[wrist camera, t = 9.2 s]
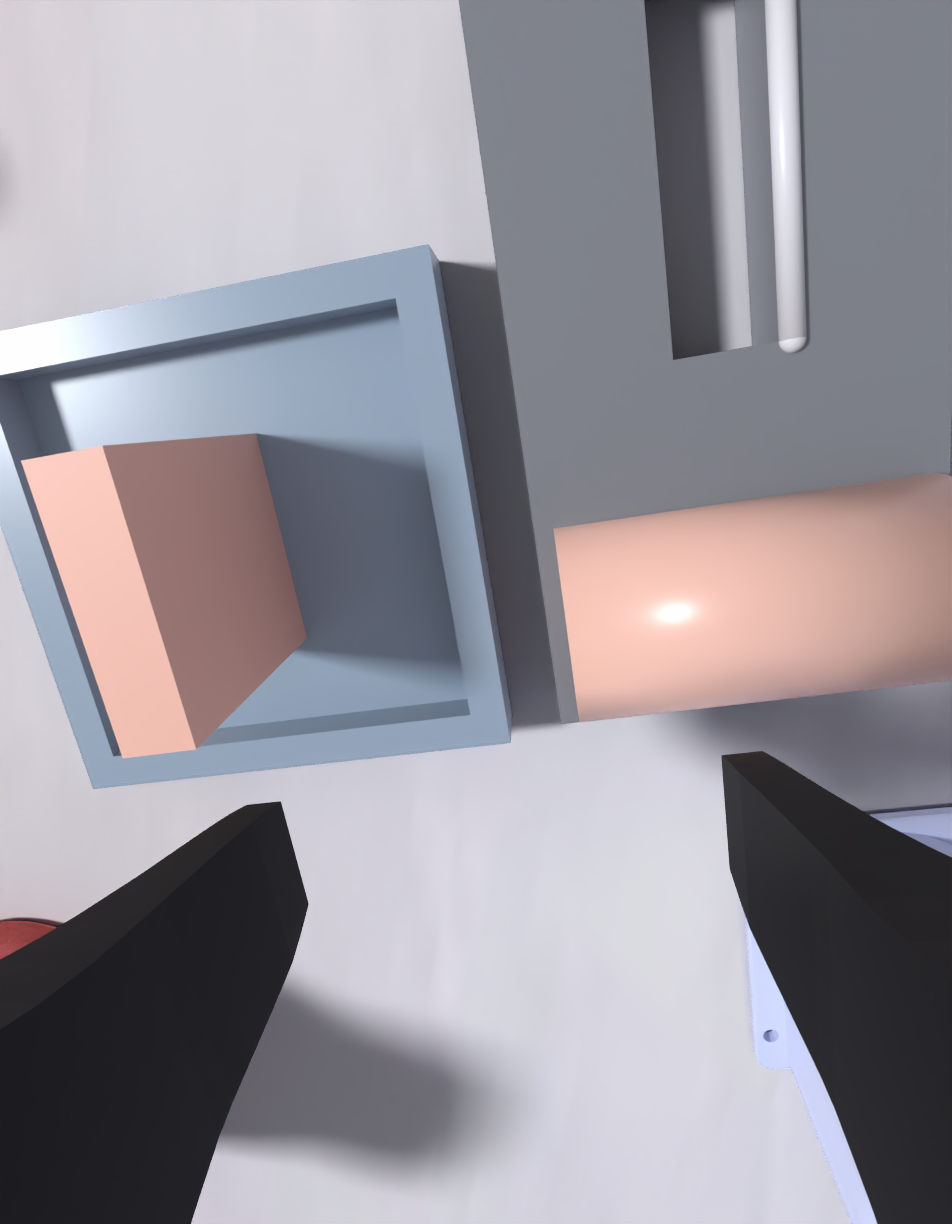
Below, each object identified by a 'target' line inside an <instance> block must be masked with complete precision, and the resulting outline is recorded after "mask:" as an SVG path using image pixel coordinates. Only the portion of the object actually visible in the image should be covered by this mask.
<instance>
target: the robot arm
mask: <svg viewBox="0 0 952 1224" xmlns="http://www.w3.org/2000/svg"><path fill="white" fill-rule="evenodd" d="M722 769H723V783H724V796H725V810H726V824H727V837H728V851H729V865H730V871H731V874H732V877H733V880H734V883H735V886H736V889H737V892H738V895H739V898H740V901H741V904H742V907H743V910H744V913H745V923H746V938H747V953H748V968H749V982H750V997H751V1012H752V1027H753V1041H754V1052H755V1055H756V1058H757V1060H758V1063H759V1064H760V1065H761V1066H763V1067H765V1068H768V1069H784V1068H790V1069H791V1071H792V1074H793V1076H794V1079H795V1081H796V1084H797V1087H798V1089H799V1092H800V1094H801V1097H802V1099H803V1102H804V1104H805V1107H806V1110H807V1112H808V1115H809V1117H810V1120H811V1122H812V1125H813V1127H814V1130H815V1133H816V1135H817V1138H818V1140H819V1143H820V1145H821V1148H822V1150H823V1153H824V1156H825V1158H826V1161H827V1163H828V1166H829V1168H830V1171H831V1173H832V1176H833V1179H834V1181H835V1184H836V1186H837V1189H838V1191H839V1194H840V1196H841V1199H842V1202H843V1204H844V1207H845V1209H846V1212H847V1214H848V1217H849V1219H850V1222H851V1224H952V807H945V808H934V809H923V810H912V811H901V812H890V813H880V814H869V815H868V814H866V813H865V812H863V811H861V810H859V809H858V808H856V807H854V806H853V805H851V804H849V803H847V802H846V801H844V800H842V799H841V798H839V797H837V796H836V795H834V794H832V793H831V792H829V791H827V790H826V789H824V788H822V787H821V786H819V785H817V784H816V783H814V782H813V781H811V780H809V779H808V778H806V777H805V776H803V775H801V774H800V773H798V772H797V771H795V770H793V769H792V768H790V767H788V766H787V765H785V764H784V763H782V762H780V761H779V760H777V759H775V758H774V757H772V756H770V755H768V754H767V753H765V752H763V751H760V752H750V753H741V754H731V755H722ZM307 908H308V900H307V897H306V893H305V889H304V886H303V882H302V878H301V875H300V871H299V867H298V863H297V860H296V856H295V852H294V849H293V845H292V841H291V838H290V834H289V830H288V827H287V823H286V819H285V816H284V812H283V808H282V804H281V802H271V803H262V804H252V805H246V806H244V807H242V808H240V809H238V810H236V811H235V812H233V813H231V814H229V815H228V816H226V817H225V818H223V819H221V820H220V821H218V822H217V823H215V824H214V825H212V826H211V827H209V828H208V829H206V830H205V831H203V832H202V833H200V834H199V835H197V836H196V837H194V838H193V839H192V840H190V841H189V842H187V843H186V844H184V845H183V846H181V847H180V848H178V849H177V850H176V851H174V852H173V853H171V854H170V855H168V856H167V857H165V858H164V859H162V860H161V861H160V862H158V863H157V864H155V865H154V866H152V867H151V868H149V869H148V870H146V871H145V872H144V873H142V874H141V875H139V876H138V877H136V878H134V879H133V880H131V881H130V882H128V883H127V884H125V885H124V886H122V887H121V888H119V889H117V890H116V891H114V892H113V893H111V894H110V895H108V896H107V897H105V898H104V899H102V900H100V901H99V902H97V903H96V904H94V905H93V906H91V907H90V908H88V909H86V910H85V911H83V912H82V913H80V914H79V915H77V916H75V917H74V918H72V919H71V920H69V921H67V922H66V923H64V924H62V925H61V926H59V927H57V928H55V929H54V930H52V931H50V932H49V933H47V934H45V935H43V936H42V937H40V938H38V939H36V940H34V941H33V942H31V943H29V944H27V945H25V946H24V947H22V948H20V949H18V950H16V951H15V952H13V953H11V954H9V955H7V956H6V957H4V958H2V959H0V1224H191V1221H192V1218H193V1215H194V1212H195V1209H196V1206H197V1203H198V1199H199V1196H200V1193H201V1190H202V1187H203V1184H204V1181H205V1178H206V1175H207V1172H208V1169H209V1166H210V1163H211V1160H212V1157H213V1154H214V1151H215V1148H216V1145H217V1141H218V1139H219V1136H220V1133H221V1131H222V1128H223V1125H224V1123H225V1120H226V1118H227V1115H228V1113H229V1110H230V1107H231V1105H232V1102H233V1100H234V1098H235V1095H236V1093H237V1091H238V1088H239V1086H240V1084H241V1081H242V1079H243V1077H244V1075H245V1072H246V1070H247V1068H248V1065H249V1063H250V1061H251V1058H252V1056H253V1054H254V1051H255V1049H256V1047H257V1045H258V1042H259V1040H260V1038H261V1035H262V1033H263V1031H264V1028H265V1026H266V1024H267V1021H268V1019H269V1017H270V1015H271V1012H272V1010H273V1008H274V1005H275V1003H276V1000H277V998H278V996H279V993H280V991H281V989H282V986H283V984H284V982H285V979H286V977H287V974H288V972H289V969H290V967H291V964H292V962H293V958H294V955H295V952H296V948H297V945H298V942H299V938H300V935H301V931H302V927H303V923H304V919H305V916H306V912H307ZM767 1030H772V1031H769V1032H766V1031H767Z"/></svg>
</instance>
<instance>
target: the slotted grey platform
mask: <svg viewBox="0 0 952 1224" xmlns="http://www.w3.org/2000/svg"><path fill="white" fill-rule="evenodd" d="M645 1H649V0H459V5H460V12H461V19H462V26H463V33H464V41H465V48H466V55H467V62H468V69H469V76H470V83H471V90H472V97H473V104H474V111H475V118H476V125H477V133H478V140H479V147H480V154H481V161H482V168H483V175H484V182H485V189H486V196H487V203H488V210H489V217H490V225H491V232H492V239H493V246H494V253H495V260H496V267H497V274H498V281H499V288H500V295H501V302H502V310H503V317H504V324H505V331H506V338H507V345H508V352H509V359H510V366H511V373H512V380H513V387H514V394H515V402H516V409H517V416H518V423H519V430H520V437H521V444H522V451H523V458H524V465H525V472H526V479H527V487H528V494H529V501H530V508H531V515H532V522H533V529H534V536H535V543H536V550H537V557H538V564H539V571H540V579H541V586H542V593H543V600H544V607H545V614H546V621H547V628H548V635H549V642H550V649H551V656H552V663H553V671H554V678H555V685H556V692H557V699H558V706H559V713H560V720H561V724H566V723H575V722H587V721H596V720H605V719H614V718H623V717H632V716H641V715H649V714H658V713H667V712H676V711H685V710H694V709H703V708H712V707H720V706H729V705H738V704H747V703H756V702H765V701H774V700H782V699H791V698H800V697H809V696H818V695H827V694H836V693H844V692H853V691H862V690H871V689H880V688H889V687H898V686H906V685H915V684H924V683H933V682H942V681H951V680H952V477H951V476H950V460H951V418H952V0H734V1H735V20H736V40H737V60H738V80H739V99H740V119H741V139H742V158H743V178H744V198H745V217H746V237H747V257H748V276H749V296H750V316H751V336H752V346H751V347H745V348H739V349H734V350H728V351H722V352H716V353H711V354H705V355H699V356H693V357H688V358H682V359H676V360H673V353H672V340H671V328H670V315H669V303H668V290H667V278H666V265H665V253H664V241H663V228H662V216H661V203H660V191H659V178H658V166H657V154H656V141H655V129H654V116H653V104H652V91H651V79H650V67H649V54H648V42H647V29H646V17H645V4H644V2H645Z"/></svg>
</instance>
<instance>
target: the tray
mask: <svg viewBox="0 0 952 1224" xmlns="http://www.w3.org/2000/svg"><path fill="white" fill-rule="evenodd" d="M253 433H256V435H257V439H258V443H259V447H260V451H261V455H262V459H263V463H264V467H265V471H266V475H267V479H268V483H269V487H270V491H271V495H272V499H273V503H274V507H275V511H276V515H277V519H278V523H279V527H280V532H281V536H282V540H283V544H284V548H285V552H286V556H287V560H288V564H289V568H290V572H291V576H292V580H293V584H294V588H295V592H296V596H297V600H298V604H299V608H300V612H301V616H302V620H303V624H304V628H305V632H306V636H307V639H306V640H305V641H304V642H303V643H302V644H301V645H300V646H299V647H298V648H297V649H296V650H295V651H294V652H293V653H292V654H291V655H290V656H289V657H288V658H287V659H286V660H285V661H284V662H283V663H282V664H281V665H280V666H279V667H278V668H277V669H276V670H275V671H274V672H273V673H272V674H271V675H270V676H269V677H268V678H267V679H266V680H265V681H264V682H263V683H262V684H261V685H260V686H259V687H258V688H257V689H256V690H255V691H254V692H253V693H252V694H251V695H250V696H249V697H248V698H247V699H246V700H245V701H244V702H243V703H242V704H241V705H240V706H239V707H238V708H237V709H236V710H235V711H234V712H233V713H232V714H231V715H230V716H229V717H228V718H227V719H226V720H225V721H224V722H223V723H222V724H221V725H220V726H219V727H218V728H217V729H216V730H215V731H214V732H213V733H212V734H211V735H210V736H209V737H208V738H207V739H206V740H205V741H204V742H203V743H202V744H201V745H200V746H199V747H198V748H197V749H196V750H188V751H180V752H172V753H164V754H156V755H148V756H139V757H131V758H123V757H122V755H121V752H120V749H119V746H118V743H117V740H116V737H115V734H114V731H113V728H112V725H111V722H110V719H109V717H108V714H107V711H106V708H105V705H104V702H103V699H102V696H101V693H100V690H99V687H98V684H97V682H96V679H95V676H94V673H93V670H92V667H91V664H90V661H89V658H88V655H87V652H86V649H85V646H84V644H83V641H82V638H81V635H80V632H79V629H78V626H77V623H76V620H75V617H74V614H73V611H72V609H71V606H70V603H69V600H68V597H67V594H66V591H65V588H64V585H63V582H62V579H61V576H60V574H59V571H58V568H57V565H56V562H55V559H54V556H53V553H52V550H51V547H50V544H49V541H48V538H47V536H46V533H45V530H44V527H43V524H42V521H41V518H40V515H39V512H38V509H37V506H36V503H35V501H34V498H33V495H32V492H31V489H30V486H29V483H28V480H27V477H26V474H25V471H24V468H23V465H22V463H21V461H22V460H27V459H33V458H38V457H44V456H49V455H54V454H60V453H65V452H71V451H76V450H81V449H87V448H92V447H98V446H104V445H116V444H129V443H141V442H154V441H166V440H178V439H191V438H203V437H216V436H228V435H241V434H253ZM0 526H1V529H2V531H3V534H4V537H5V540H6V543H7V546H8V549H9V551H10V554H11V557H12V560H13V563H14V566H15V568H16V571H17V574H18V577H19V580H20V583H21V585H22V588H23V591H24V594H25V597H26V600H27V602H28V605H29V608H30V611H31V614H32V617H33V619H34V622H35V625H36V628H37V631H38V634H39V636H40V639H41V642H42V645H43V648H44V651H45V653H46V656H47V659H48V662H49V665H50V668H51V670H52V673H53V676H54V679H55V682H56V685H57V688H58V690H59V693H60V696H61V699H62V702H63V705H64V707H65V710H66V713H67V716H68V719H69V722H70V724H71V727H72V730H73V733H74V736H75V739H76V741H77V744H78V747H79V750H80V753H81V756H82V758H83V761H84V764H85V767H86V770H87V773H88V775H89V778H90V781H91V784H92V787H93V789H98V788H107V787H116V786H125V785H134V784H143V783H152V782H161V781H170V780H179V779H188V778H197V777H206V776H215V775H224V774H233V773H242V772H252V771H261V770H270V769H279V768H288V767H297V766H306V765H315V764H324V763H333V762H342V761H351V760H360V759H369V758H378V757H387V756H396V755H405V754H414V753H423V752H432V751H441V750H450V749H459V748H469V747H478V746H487V745H496V744H505V743H511V728H512V711H511V704H510V698H509V692H508V686H507V680H506V673H505V667H504V661H503V655H502V649H501V643H500V636H499V630H498V624H497V618H496V612H495V605H494V599H493V593H492V587H491V581H490V575H489V568H488V562H487V556H486V550H485V544H484V537H483V531H482V525H481V519H480V513H479V506H478V500H477V494H476V488H475V482H474V476H473V469H472V463H471V457H470V451H469V445H468V438H467V432H466V426H465V420H464V414H463V407H462V401H461V395H460V389H459V383H458V377H457V370H456V364H455V358H454V352H453V346H452V339H451V333H450V327H449V321H448V315H447V308H446V302H445V296H444V290H443V284H442V278H441V271H440V265H439V260H438V259H437V257H436V255H435V254H434V252H433V251H432V249H431V247H430V246H429V244H428V245H423V246H418V247H413V248H408V249H403V250H398V251H393V252H388V253H383V254H378V255H374V256H369V257H364V258H359V259H354V260H349V261H344V262H339V263H334V264H329V265H324V266H320V267H315V268H310V269H305V270H300V271H295V272H290V273H285V274H280V275H275V276H270V277H265V278H261V279H256V280H251V281H246V282H241V283H236V284H231V285H226V286H221V287H216V288H211V289H206V290H202V291H197V292H192V293H187V294H182V295H177V296H172V297H167V298H162V299H157V300H152V301H147V302H143V303H138V304H133V305H128V306H123V307H118V308H113V309H108V310H103V311H98V312H93V313H88V314H84V315H79V316H74V317H69V318H64V319H59V320H54V321H49V322H44V323H39V324H34V325H29V326H25V327H20V328H15V329H10V330H5V331H0Z"/></svg>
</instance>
